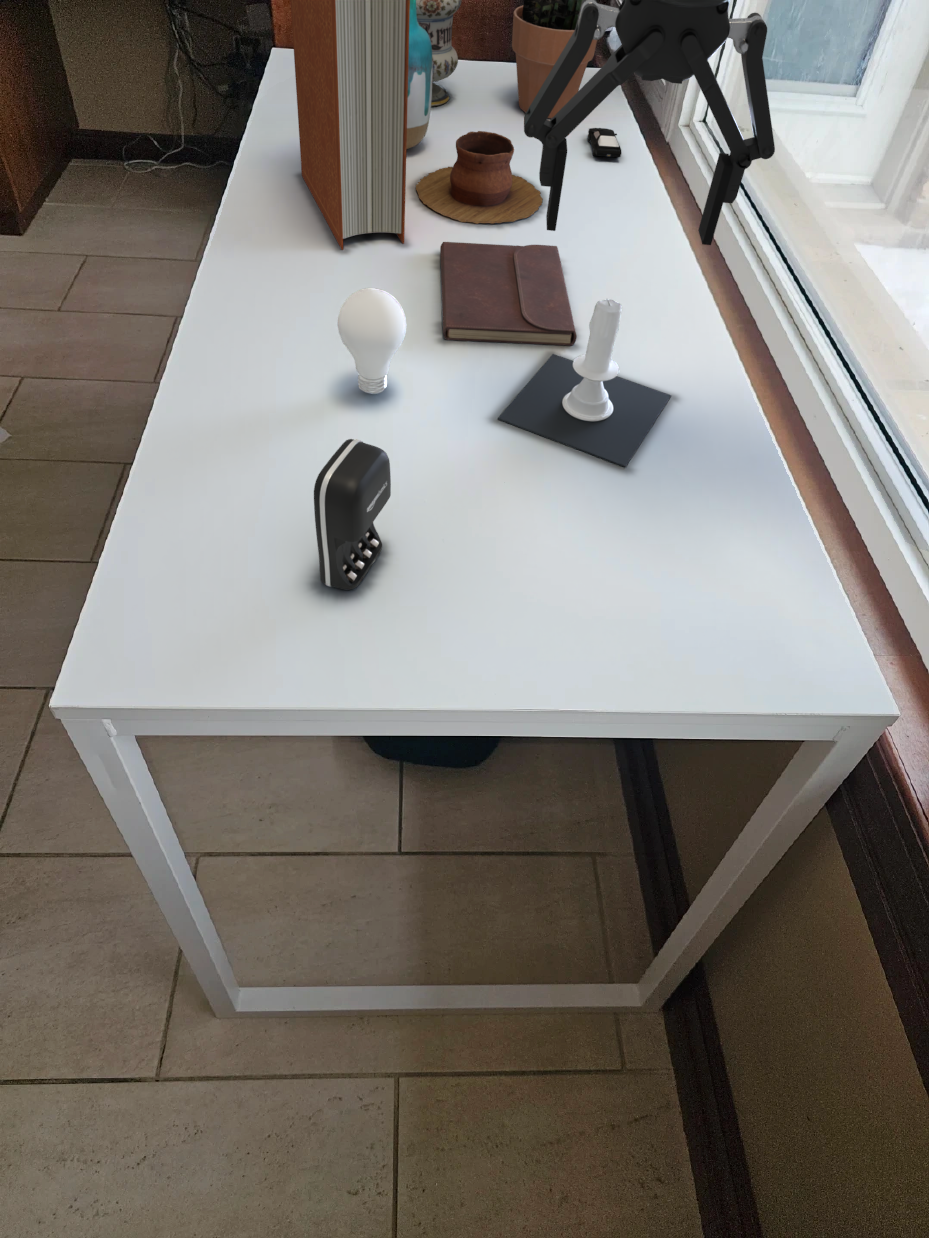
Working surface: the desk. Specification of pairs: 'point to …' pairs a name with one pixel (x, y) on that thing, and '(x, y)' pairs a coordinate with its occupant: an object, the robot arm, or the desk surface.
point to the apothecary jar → (439, 41)
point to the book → (353, 110)
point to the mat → (603, 439)
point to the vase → (418, 80)
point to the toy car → (604, 142)
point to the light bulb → (372, 334)
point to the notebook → (505, 294)
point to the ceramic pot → (480, 183)
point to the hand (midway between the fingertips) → (627, 231)
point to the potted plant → (545, 47)
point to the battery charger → (350, 512)
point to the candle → (596, 366)
